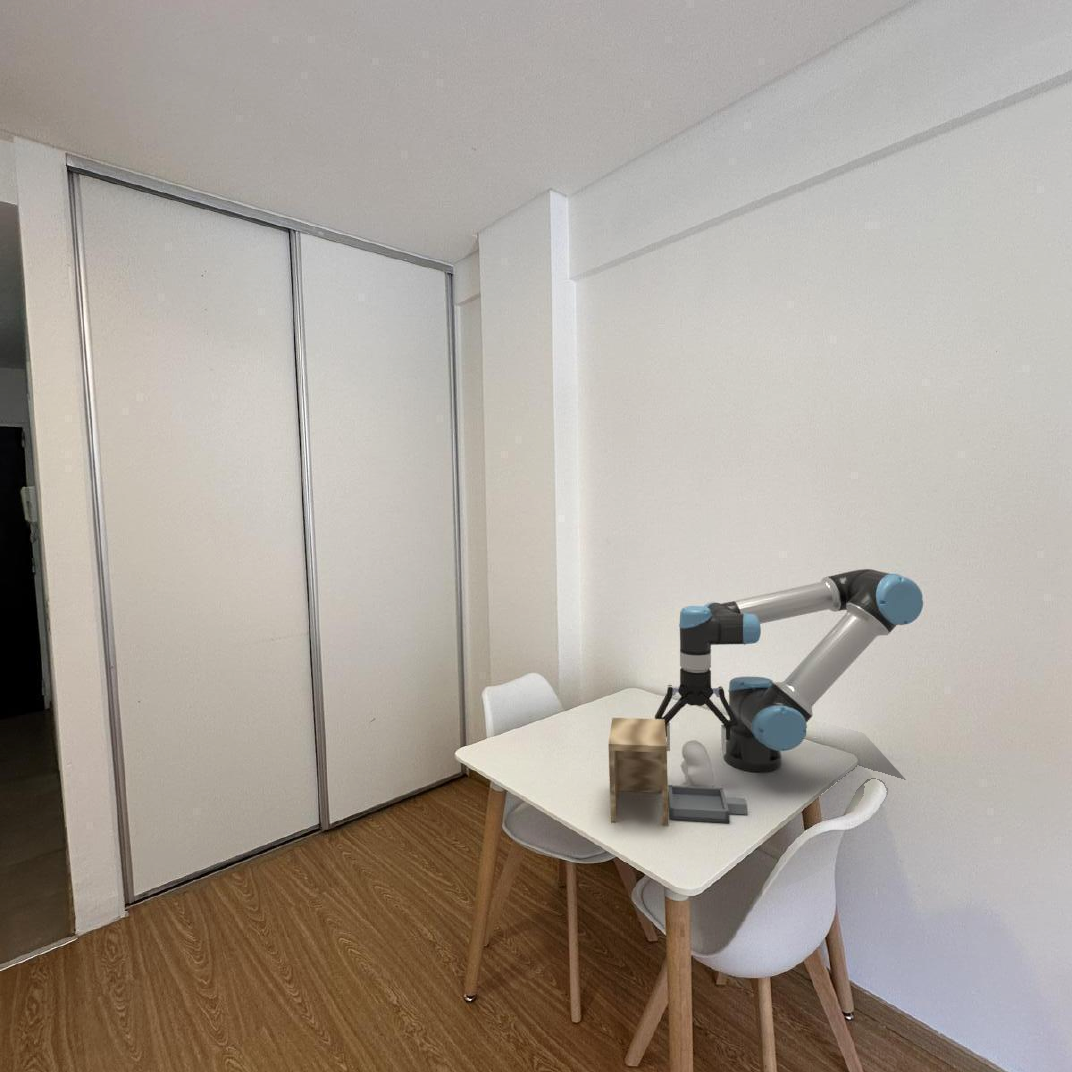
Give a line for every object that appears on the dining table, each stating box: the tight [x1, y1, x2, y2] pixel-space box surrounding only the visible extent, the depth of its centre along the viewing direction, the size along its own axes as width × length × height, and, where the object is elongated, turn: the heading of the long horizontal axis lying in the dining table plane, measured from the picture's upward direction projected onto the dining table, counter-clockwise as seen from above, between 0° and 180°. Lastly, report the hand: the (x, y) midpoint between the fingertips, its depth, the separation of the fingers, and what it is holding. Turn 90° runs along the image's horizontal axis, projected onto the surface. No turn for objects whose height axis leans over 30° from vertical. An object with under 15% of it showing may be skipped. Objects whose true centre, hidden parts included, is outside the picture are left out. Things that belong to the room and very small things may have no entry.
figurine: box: [680, 739, 714, 787], centre depth 151 cm, size 7×8×12 cm
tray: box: [668, 784, 748, 824], centre depth 140 cm, size 18×11×3 cm, turn 80°
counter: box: [608, 717, 670, 827], centre depth 143 cm, size 13×16×18 cm
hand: (695, 750), depth 151 cm, fingers open, 13 cm apart
